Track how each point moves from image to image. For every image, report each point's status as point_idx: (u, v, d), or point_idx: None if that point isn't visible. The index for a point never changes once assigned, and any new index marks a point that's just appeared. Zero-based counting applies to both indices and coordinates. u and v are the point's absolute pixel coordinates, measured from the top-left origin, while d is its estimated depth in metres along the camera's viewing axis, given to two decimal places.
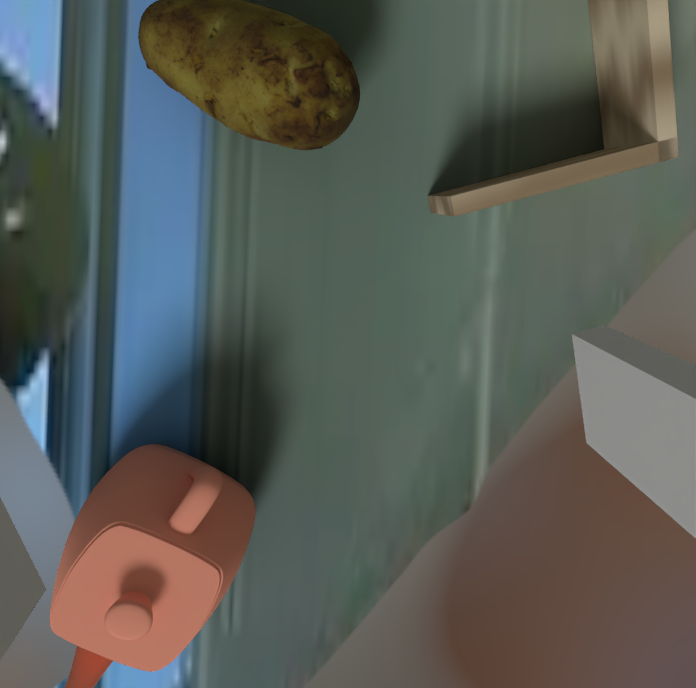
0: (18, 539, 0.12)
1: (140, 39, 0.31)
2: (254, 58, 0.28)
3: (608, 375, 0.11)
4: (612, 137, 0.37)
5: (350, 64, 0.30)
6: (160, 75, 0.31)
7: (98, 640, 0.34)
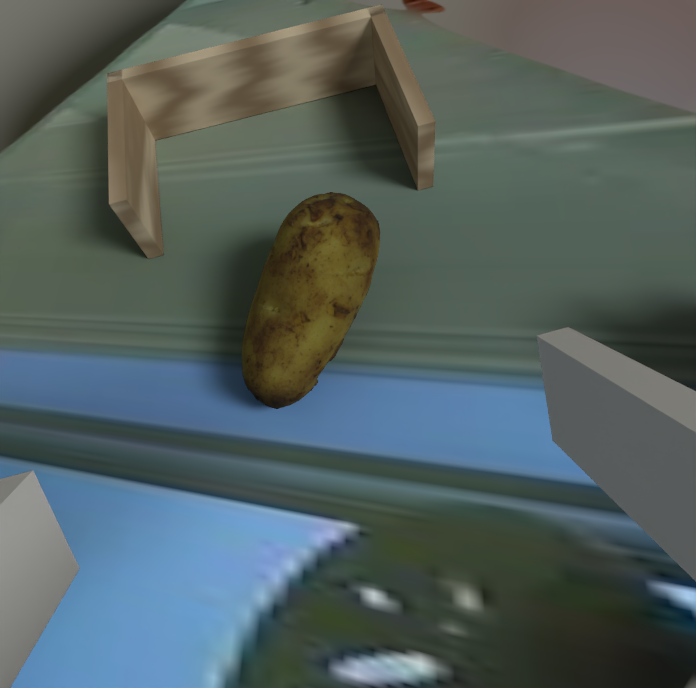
0: (54, 520, 0.12)
1: (276, 390, 0.31)
2: (299, 254, 0.30)
3: (567, 375, 0.11)
4: (367, 74, 0.46)
5: None
6: (309, 372, 0.31)
7: None
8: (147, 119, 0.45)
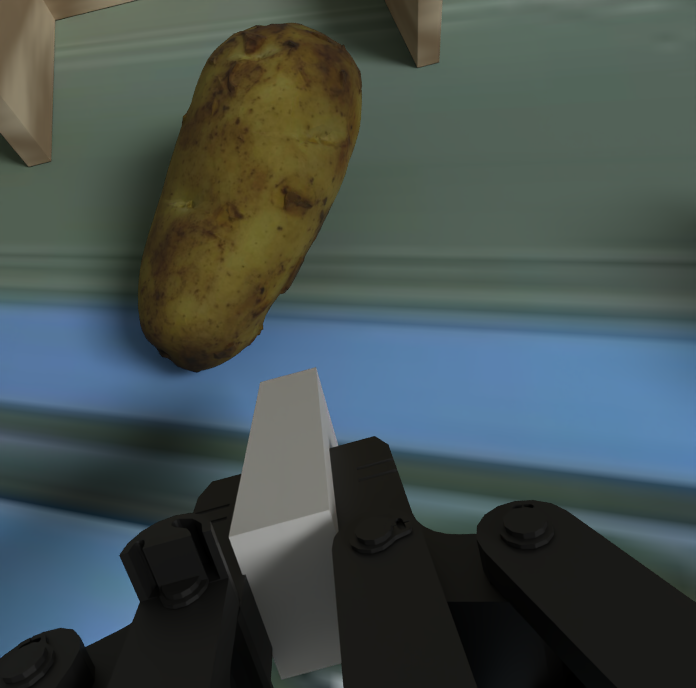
0: None
1: (187, 336, 0.18)
2: (224, 104, 0.18)
3: None
4: None
5: None
6: (244, 307, 0.18)
7: None
8: None
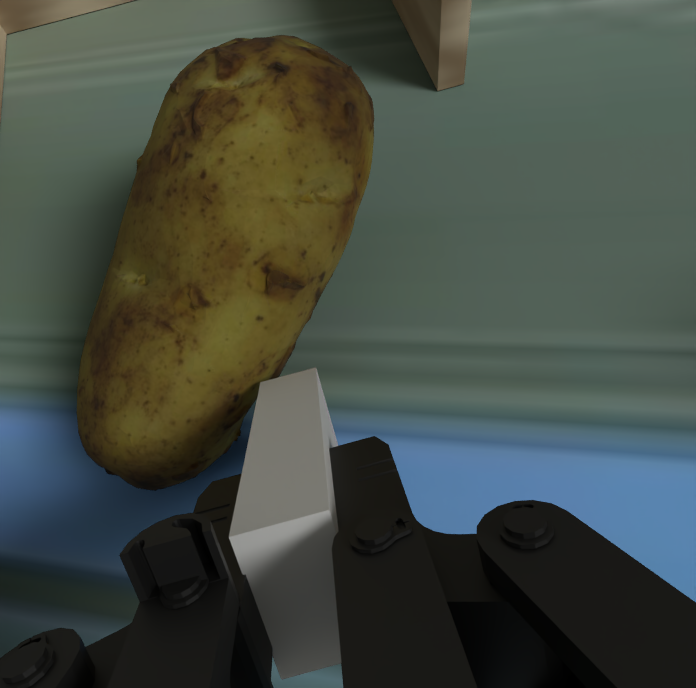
0: None
1: (135, 460, 0.14)
2: (187, 150, 0.13)
3: None
4: None
5: None
6: (211, 421, 0.14)
7: None
8: None
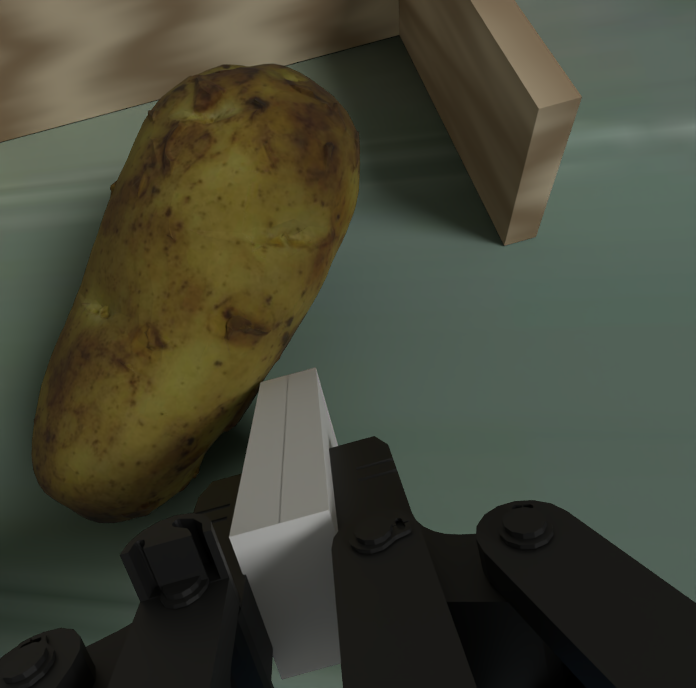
0: None
1: (82, 498, 0.13)
2: (155, 184, 0.13)
3: None
4: (384, 13, 0.25)
5: None
6: (163, 464, 0.13)
7: None
8: None
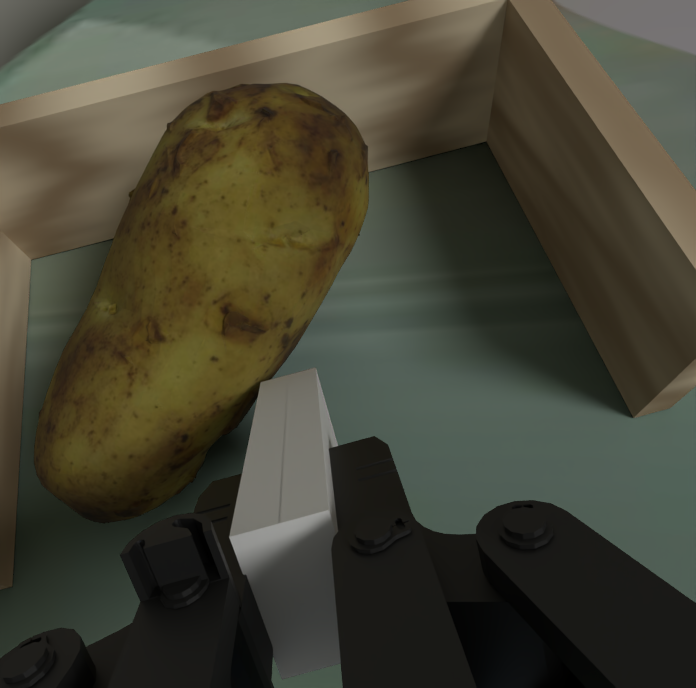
0: None
1: (75, 490, 0.13)
2: (164, 186, 0.13)
3: None
4: (473, 122, 0.22)
5: None
6: (155, 460, 0.13)
7: None
8: (4, 225, 0.21)
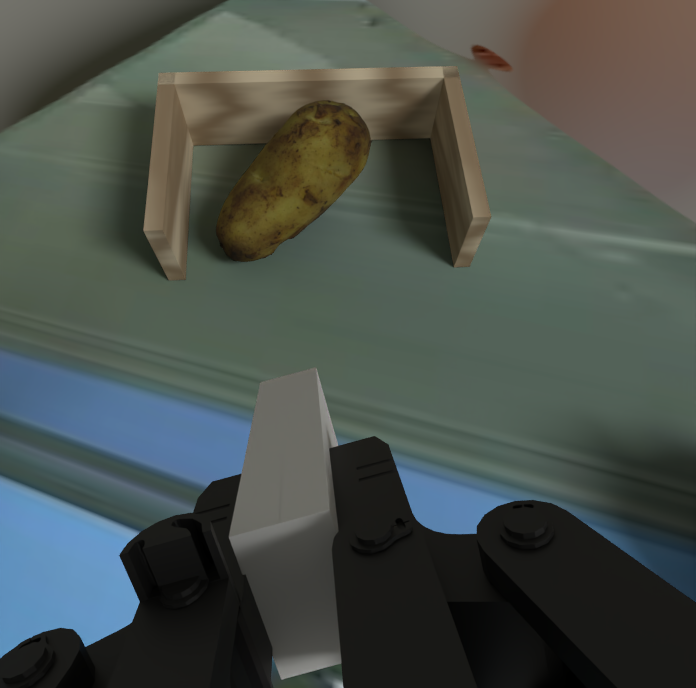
0: None
1: (236, 241, 0.37)
2: (294, 139, 0.36)
3: None
4: (424, 127, 0.45)
5: None
6: (267, 238, 0.37)
7: None
8: (190, 125, 0.43)
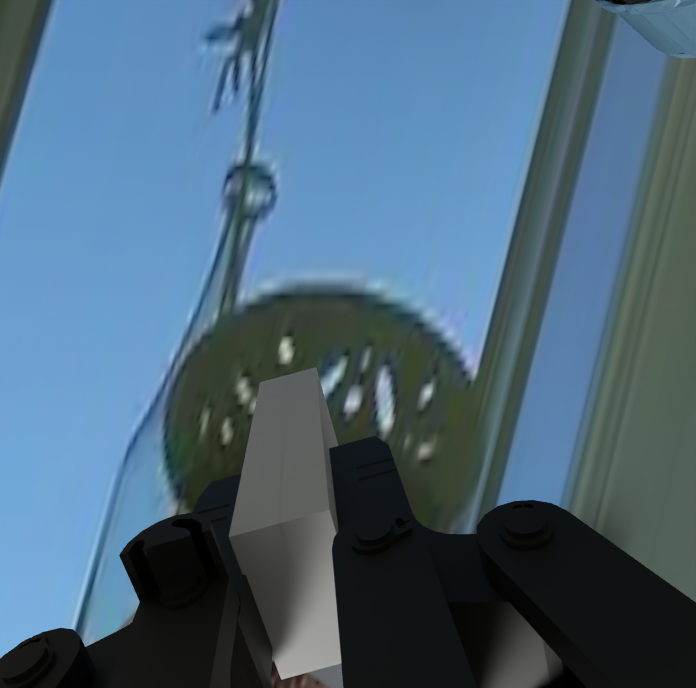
0: None
1: None
2: None
3: None
4: None
5: None
6: None
7: None
8: None
